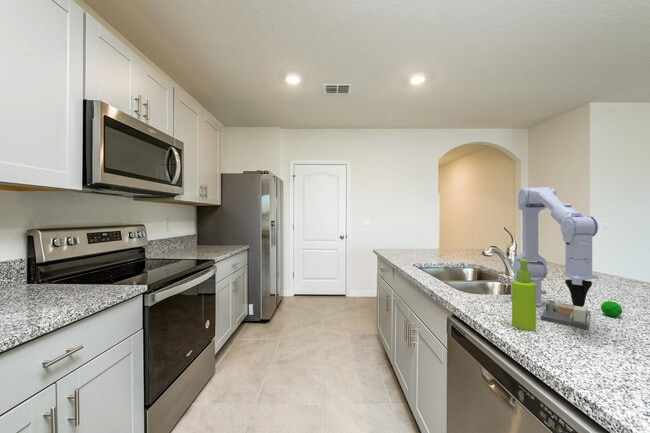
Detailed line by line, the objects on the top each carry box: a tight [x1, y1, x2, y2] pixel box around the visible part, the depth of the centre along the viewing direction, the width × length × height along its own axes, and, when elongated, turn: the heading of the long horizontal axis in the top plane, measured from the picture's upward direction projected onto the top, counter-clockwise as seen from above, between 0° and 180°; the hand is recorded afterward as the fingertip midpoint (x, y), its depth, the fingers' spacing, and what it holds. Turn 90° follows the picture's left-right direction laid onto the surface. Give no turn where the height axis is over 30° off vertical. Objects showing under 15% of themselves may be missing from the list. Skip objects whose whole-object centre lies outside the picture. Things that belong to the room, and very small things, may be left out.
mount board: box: [540, 299, 591, 330], centre depth 92 cm, size 11×18×4 cm, turn 135°
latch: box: [574, 306, 587, 323], centre depth 86 cm, size 3×5×4 cm, turn 135°
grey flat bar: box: [551, 302, 589, 314], centre depth 92 cm, size 9×3×1 cm, turn 45°
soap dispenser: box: [511, 259, 537, 332], centre depth 84 cm, size 6×7×20 cm
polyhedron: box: [600, 300, 623, 318], centre depth 93 cm, size 5×5×5 cm
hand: (578, 305), depth 80 cm, fingers closed
